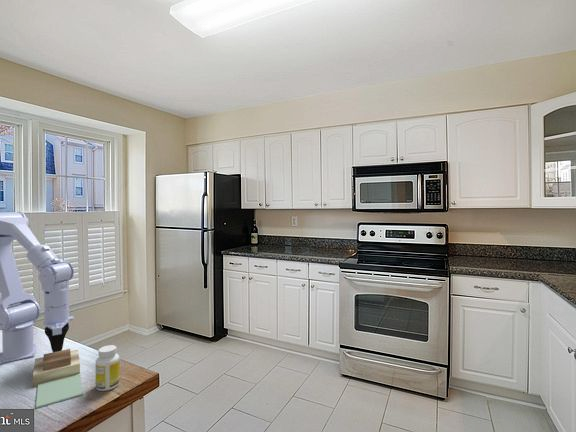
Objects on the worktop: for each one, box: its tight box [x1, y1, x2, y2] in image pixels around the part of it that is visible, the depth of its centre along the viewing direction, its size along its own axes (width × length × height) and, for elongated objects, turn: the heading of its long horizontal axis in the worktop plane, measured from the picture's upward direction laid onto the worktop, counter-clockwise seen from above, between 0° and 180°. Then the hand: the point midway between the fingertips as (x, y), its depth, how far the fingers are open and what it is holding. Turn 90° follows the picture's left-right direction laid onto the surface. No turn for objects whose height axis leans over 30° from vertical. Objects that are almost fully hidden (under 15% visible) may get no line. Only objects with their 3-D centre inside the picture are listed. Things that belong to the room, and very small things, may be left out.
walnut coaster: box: [43, 348, 71, 371], centre depth 86 cm, size 6×6×2 cm
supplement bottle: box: [95, 344, 121, 392], centre depth 81 cm, size 5×5×10 cm
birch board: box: [32, 349, 81, 387], centre depth 87 cm, size 10×10×3 cm
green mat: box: [35, 373, 84, 409], centre depth 79 cm, size 11×9×1 cm
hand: (57, 350), depth 92 cm, fingers closed
